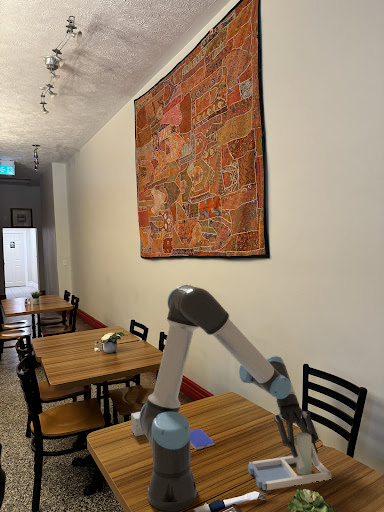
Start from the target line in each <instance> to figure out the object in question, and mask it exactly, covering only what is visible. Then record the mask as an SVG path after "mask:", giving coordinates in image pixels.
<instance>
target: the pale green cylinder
mask: <svg viewBox="0 0 384 512" xmlns="http://www.w3.org/2000/svg"><path fill="white" fill-rule="evenodd" d="M295 445H297V446H298V449H299V452H300V455H301V457H302V460H303V463H304V467H303V468H302V469H299V466H298V463H297V460H296V463H295V464H296V465H295V466H296V473H298V474H299V475H300V476H303V475H309V474H313V463H312V443H311V435H310V434H308V433H304V432H302V431H301V432H297V433H296V434H295Z"/></svg>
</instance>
